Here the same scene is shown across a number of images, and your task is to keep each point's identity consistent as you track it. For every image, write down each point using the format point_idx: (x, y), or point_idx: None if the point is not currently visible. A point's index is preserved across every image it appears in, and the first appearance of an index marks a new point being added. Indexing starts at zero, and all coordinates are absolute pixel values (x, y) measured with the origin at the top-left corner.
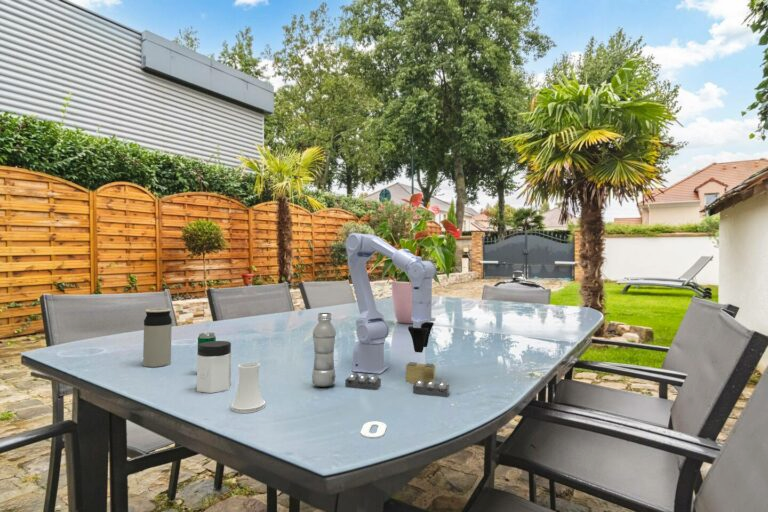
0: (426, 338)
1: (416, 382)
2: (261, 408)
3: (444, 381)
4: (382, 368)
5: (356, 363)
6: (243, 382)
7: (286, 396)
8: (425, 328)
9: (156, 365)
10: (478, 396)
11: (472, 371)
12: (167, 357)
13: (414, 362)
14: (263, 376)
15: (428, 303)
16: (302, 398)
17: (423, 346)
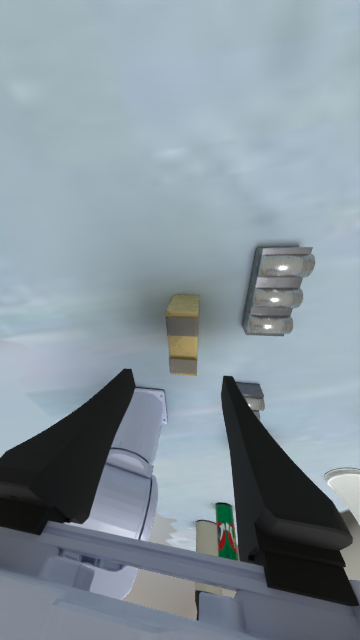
0: (113, 399)
1: (252, 333)
2: (356, 470)
3: (272, 264)
4: (144, 394)
5: (159, 431)
6: None
7: (301, 459)
8: (297, 533)
9: (215, 525)
10: (290, 136)
11: (25, 204)
12: (207, 532)
13: (170, 363)
14: (221, 479)
15: None
16: (310, 447)
17: (238, 393)
